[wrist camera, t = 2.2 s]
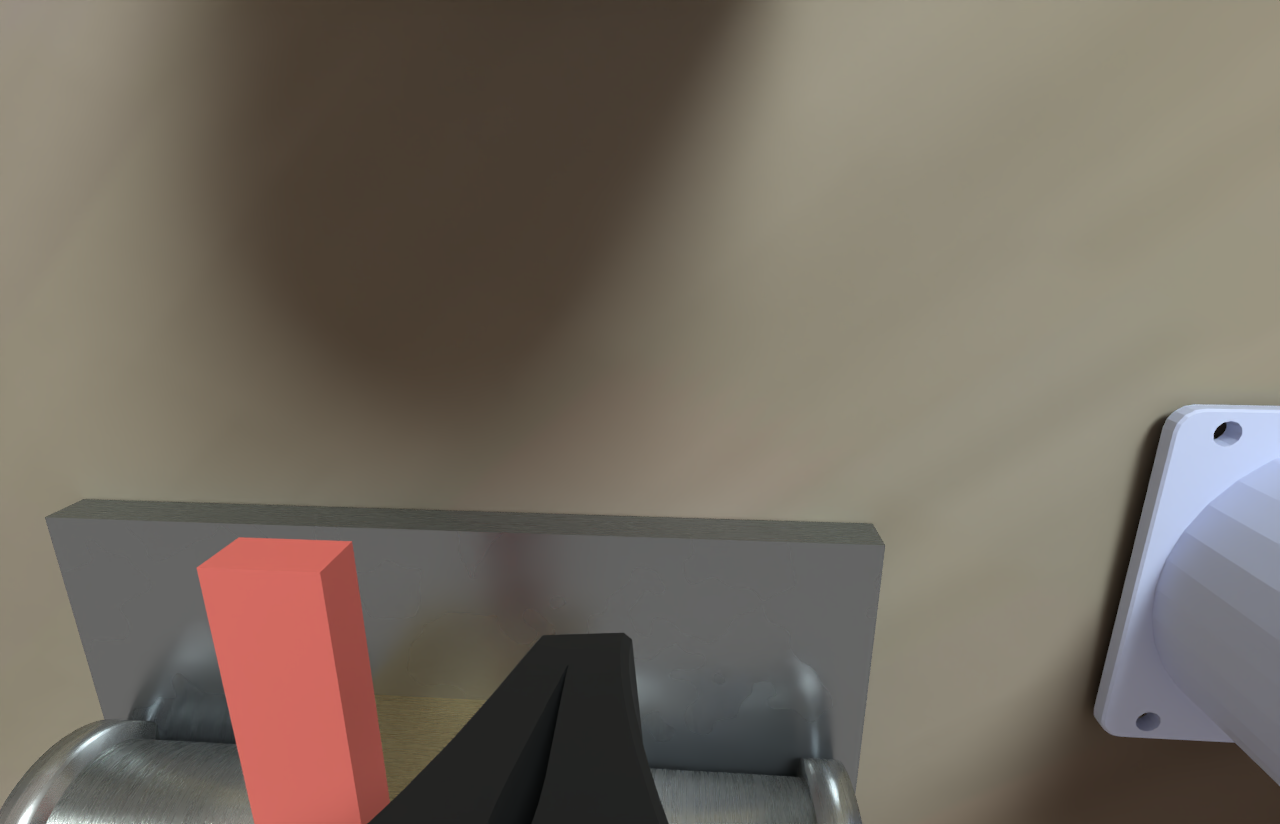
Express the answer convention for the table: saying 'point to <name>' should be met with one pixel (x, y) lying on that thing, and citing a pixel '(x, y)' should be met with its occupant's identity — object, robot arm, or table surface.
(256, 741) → the lever
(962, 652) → the table surface
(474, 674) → the valve assembly
